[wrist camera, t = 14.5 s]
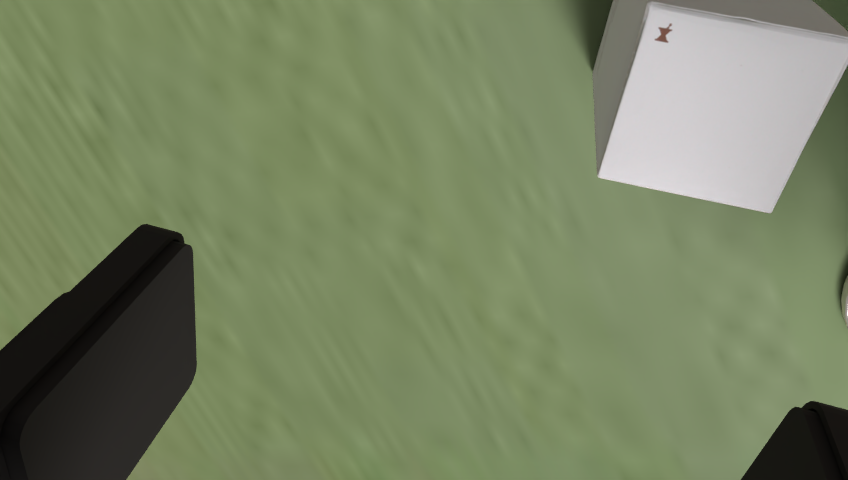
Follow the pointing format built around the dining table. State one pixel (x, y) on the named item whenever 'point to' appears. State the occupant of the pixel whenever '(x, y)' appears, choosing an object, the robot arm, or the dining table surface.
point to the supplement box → (713, 94)
